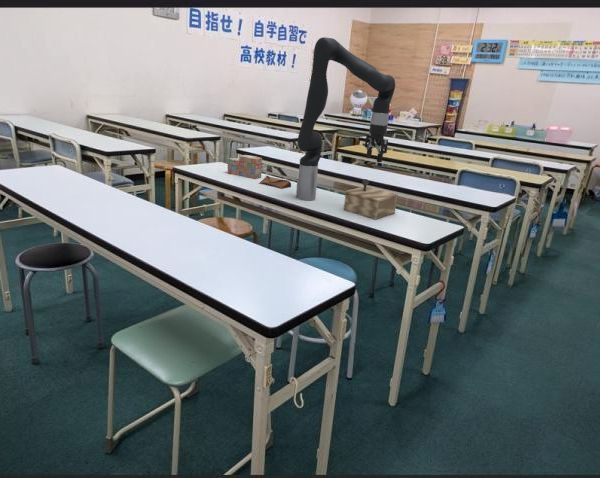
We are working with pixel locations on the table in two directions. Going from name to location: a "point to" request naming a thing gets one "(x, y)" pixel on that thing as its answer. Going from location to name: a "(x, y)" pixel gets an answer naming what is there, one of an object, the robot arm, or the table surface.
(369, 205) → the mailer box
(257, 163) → the stack of blocks
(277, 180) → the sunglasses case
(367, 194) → the box lid
